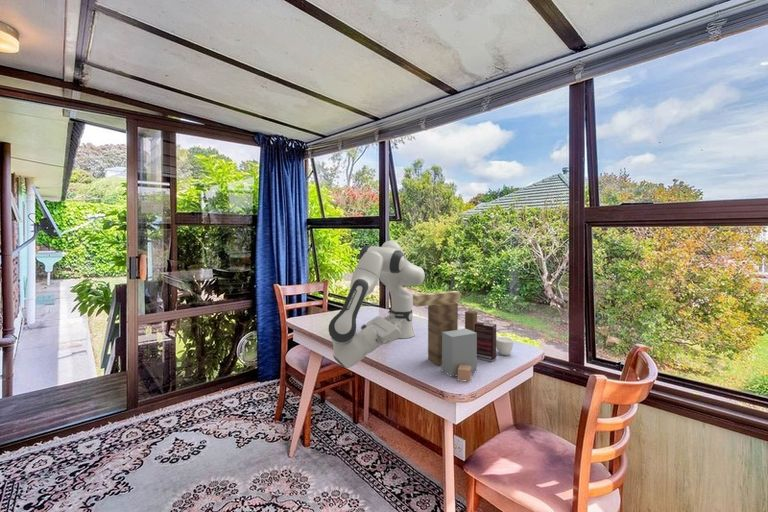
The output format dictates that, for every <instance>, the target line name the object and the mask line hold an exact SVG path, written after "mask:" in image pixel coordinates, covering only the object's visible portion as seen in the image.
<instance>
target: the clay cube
mask: <svg viewBox="0 0 768 512" xmlns="http://www.w3.org/2000/svg"><path fill="white" fill-rule="evenodd" d="M458 379H459V380H458ZM471 379H472V373H471V366H466V365H459V367H458V376H457V380H458V381H460V380H466V381H465V382H467V381H470V382H471Z"/></svg>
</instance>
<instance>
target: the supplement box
mask: <svg viewBox="0 0 768 512" xmlns="http://www.w3.org/2000/svg"><path fill="white" fill-rule="evenodd" d="M475 332H476V333H477V359H478V360H482V361H483V360H484V361H487V362H494V361H495V360H497V348H496V338H497V324H496V323H495V324H494V323H489V322H482V321H477V323H475Z"/></svg>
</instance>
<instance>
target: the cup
mask: <svg viewBox="0 0 768 512" xmlns="http://www.w3.org/2000/svg"><path fill="white" fill-rule="evenodd" d="M513 347H514V340H513V339H512V338H510V337H505V336H499V337H496V351H497V352H498V354H500V355H501V356H508V355H510V354H511V352H512V350H513Z"/></svg>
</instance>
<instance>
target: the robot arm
mask: <svg viewBox="0 0 768 512" xmlns="http://www.w3.org/2000/svg"><path fill="white" fill-rule="evenodd" d="M358 260H359V261H358V263H357V264H356V267H355V268H354V270H353V274H352V276H351V279H350V284H349V285H350V286H349V292H348V294H347V297H346V299H345V301H344V302H343V306H342V308H341V309H340V311H339V312H338V313H336V315H335V316H334V317H333V318H332V319H331V320H330V321H329V324H328V333H329V336H330V338H331V342H332V348H333V355H332V356H333V358H334V360H335V362H337V363H338V364H339V365H340V366H341V367H342V368H345V369H350V368H351V367H353V366H355V365H356V364H358V363H359V362H361V361H362V360H363V359H364V358H365V357H366V356H367V355H368V354H370V353H372V352H374V351H375V350H376V349H378V348H379V347H381V346H382V345H388V344H390V343H393V342H394V341H395V340H397V339H398V340H399V339H409V338H412V337H414V336H415V332H414V331H415V330H414V326H413V309H412V307H413V297H412V295H411V294H410V293H409V292H408V291H406V290H404V289H403V288H402V286H419V285H423V282H424V281H425V278H426V273H425V271H424V269H423V267H421V266H418V265H415V264H414V263H412V262H410V261H409V260H408V259H407V257H406V255H405V253H404V250H403V249H402V247H401V245H400V244H399V243H398V242H397V241H395V240H387V241H385V242H384V243H383V244H382V245H381V246H377V245H376V246H375V245H371V244H369V245H368V244H367V245H364V246H363V247H362V248H361V249H360V251H359V254H358ZM379 281H380V282H381V283H382V284H383V285H384V286H385V287H386V288H387V290H388V291H389V294H390V298H391V300H390V301H391V309H389V310H388V311H387V314H388V315H386V316H384V317H381V316H380V315H378V316H375V317H373V318H372V319H371V320H369V321H368V322H367V323H365V324H362V325H361V326H360V329H361V331H360V332H359V333H357V317H358V314H359V312H360V309H361V306H362V304H363V302H364V300H365V298H366V297H367V296H369V295H371V294H372V293H373V291H374V289H375V288H376V286H377V284H378V282H379Z"/></svg>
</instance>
